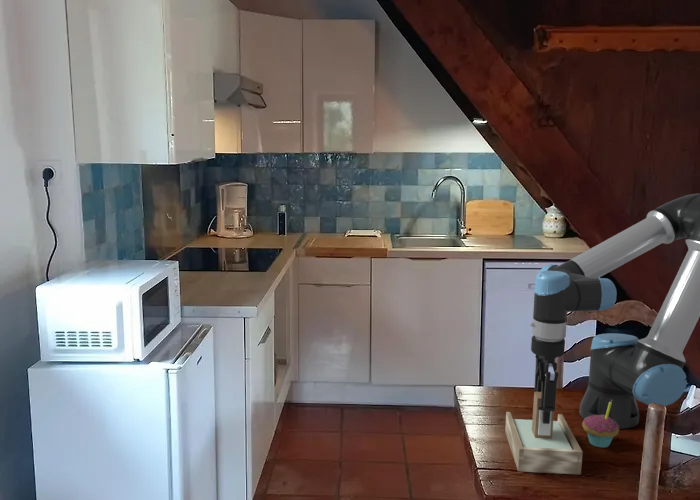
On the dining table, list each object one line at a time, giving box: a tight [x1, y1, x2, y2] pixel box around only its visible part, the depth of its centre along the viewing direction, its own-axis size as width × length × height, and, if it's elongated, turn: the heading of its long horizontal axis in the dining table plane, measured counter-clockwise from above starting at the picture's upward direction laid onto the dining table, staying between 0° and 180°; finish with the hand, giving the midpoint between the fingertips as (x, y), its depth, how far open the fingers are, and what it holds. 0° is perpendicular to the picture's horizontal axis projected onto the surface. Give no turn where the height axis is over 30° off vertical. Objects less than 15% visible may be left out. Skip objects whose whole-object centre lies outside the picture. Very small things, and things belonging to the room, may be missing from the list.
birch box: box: [504, 411, 584, 475], centre depth 161 cm, size 14×20×6 cm
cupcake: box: [581, 400, 620, 448], centre depth 165 cm, size 9×8×12 cm
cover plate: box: [513, 391, 572, 449], centre depth 159 cm, size 11×16×12 cm
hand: (542, 429), depth 160 cm, fingers closed on cover plate, 4 cm apart
